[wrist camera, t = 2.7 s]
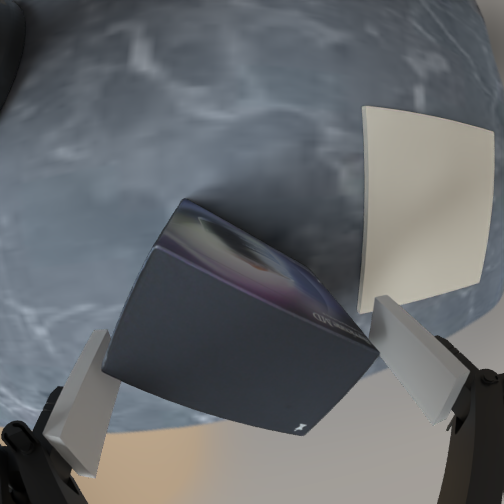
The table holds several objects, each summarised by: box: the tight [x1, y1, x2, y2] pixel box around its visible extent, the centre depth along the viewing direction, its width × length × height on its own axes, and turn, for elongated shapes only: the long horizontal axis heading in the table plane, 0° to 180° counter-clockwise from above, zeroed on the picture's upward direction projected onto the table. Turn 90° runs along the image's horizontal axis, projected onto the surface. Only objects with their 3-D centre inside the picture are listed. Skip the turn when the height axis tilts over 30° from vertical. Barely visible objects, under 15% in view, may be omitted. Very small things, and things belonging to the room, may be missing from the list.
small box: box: [101, 199, 380, 436], centre depth 15 cm, size 11×6×10 cm, turn 58°
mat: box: [357, 106, 494, 314], centre depth 21 cm, size 16×16×1 cm
